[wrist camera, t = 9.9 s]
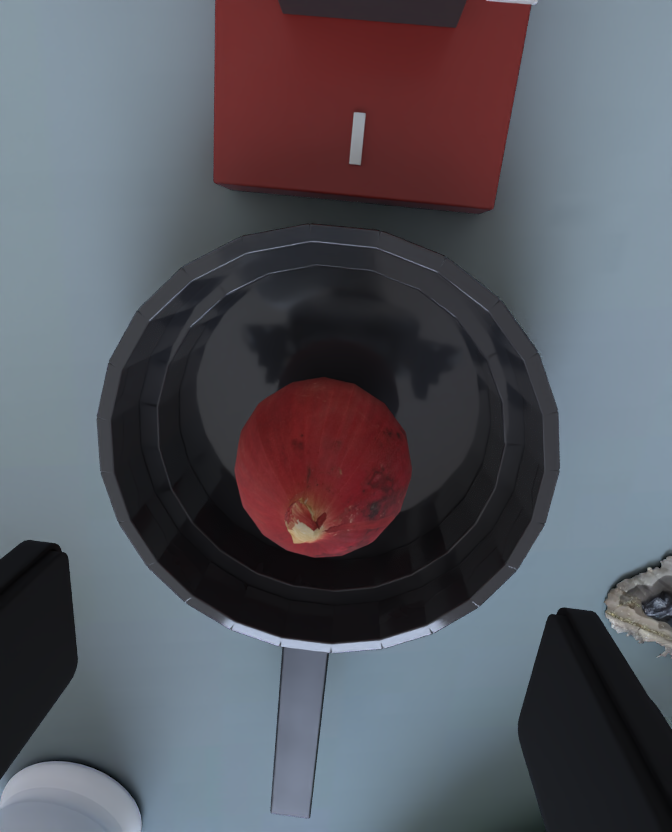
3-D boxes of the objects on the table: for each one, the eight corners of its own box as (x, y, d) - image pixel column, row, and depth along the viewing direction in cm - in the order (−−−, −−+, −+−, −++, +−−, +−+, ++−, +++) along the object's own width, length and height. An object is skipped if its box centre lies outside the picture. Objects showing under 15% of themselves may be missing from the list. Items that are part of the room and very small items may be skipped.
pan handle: (287, 618, 19) (283, 637, 19) (331, 624, 19) (330, 643, 18) (274, 790, 23) (270, 814, 22) (312, 796, 23) (309, 819, 22)
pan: (148, 211, 18) (80, 200, 14) (558, 252, 18) (619, 253, 13) (158, 556, 23) (110, 626, 19) (479, 595, 22) (504, 675, 18)
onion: (420, 376, 19) (453, 460, 11) (383, 503, 21) (391, 647, 13) (274, 342, 19) (210, 404, 11) (250, 473, 21) (183, 601, 13)
